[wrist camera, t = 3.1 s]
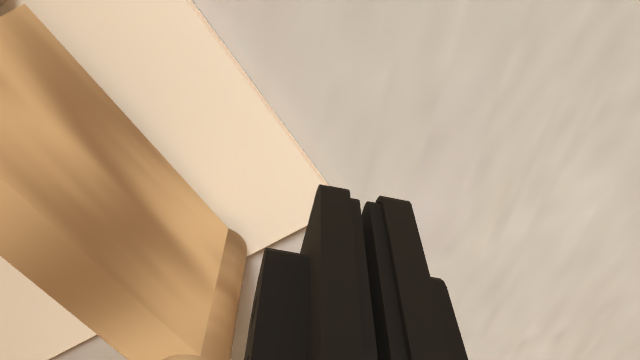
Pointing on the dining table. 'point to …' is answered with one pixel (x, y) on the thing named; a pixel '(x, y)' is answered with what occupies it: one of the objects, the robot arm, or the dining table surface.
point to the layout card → (169, 138)
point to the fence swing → (106, 211)
